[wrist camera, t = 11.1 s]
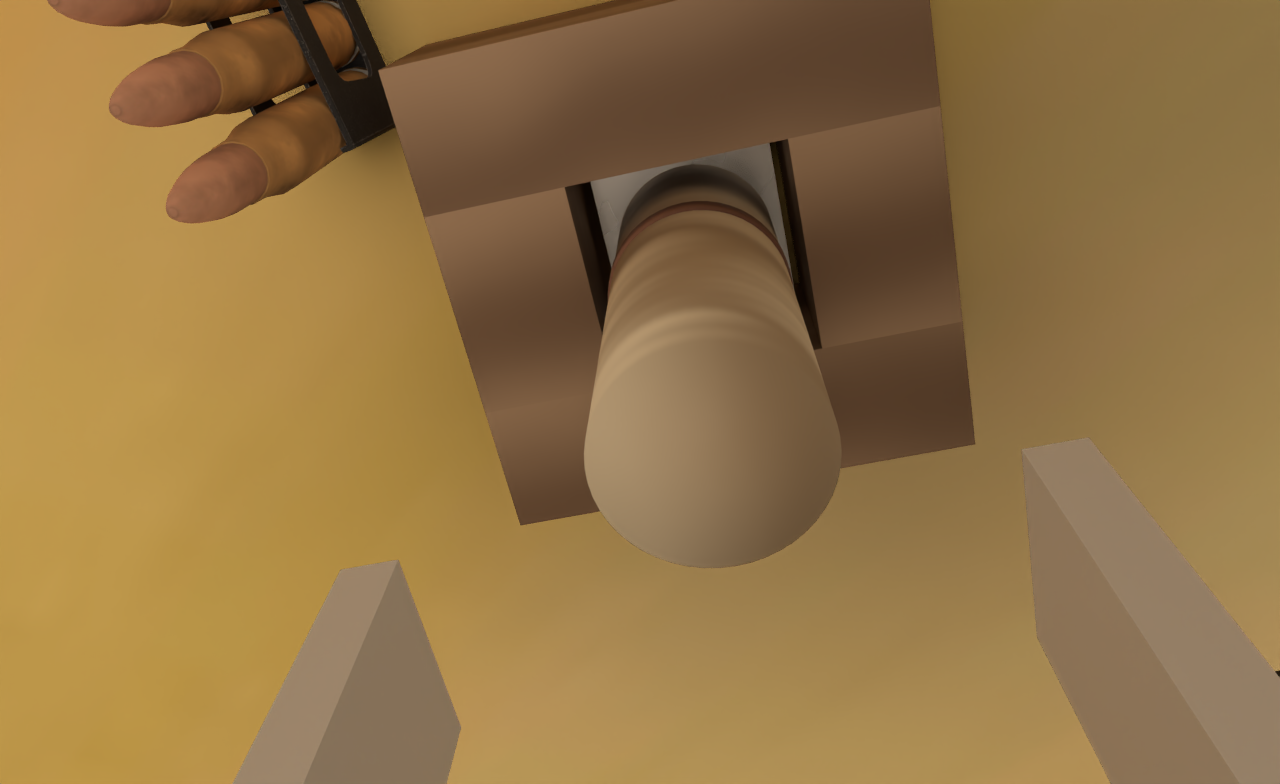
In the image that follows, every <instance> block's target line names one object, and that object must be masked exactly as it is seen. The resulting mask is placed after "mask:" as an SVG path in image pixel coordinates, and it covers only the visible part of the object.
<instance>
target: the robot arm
mask: <svg viewBox="0 0 1280 784" xmlns="http://www.w3.org/2000/svg"><path fill="white" fill-rule="evenodd" d="M1022 461H1023V473H1024V485H1025V497H1026V509H1027V521H1028V533H1029V546H1030V558H1031V570H1032V582H1033V594H1034V606H1035V618H1036V631H1037V638H1038V640H1039V642H1040V644H1041V646H1042V648H1043V650H1044V652H1045V654H1046V656H1047V658H1048V660H1049V662H1050V664H1051V666H1052V668H1053V670H1054V672H1055V674H1056V676H1057V678H1058V680H1059V682H1060V684H1061V686H1062V688H1063V690H1064V692H1065V694H1066V696H1067V698H1068V700H1069V702H1070V704H1071V706H1072V708H1073V709H1074V711H1075V713H1076V715H1077V717H1078V719H1079V721H1080V723H1081V725H1082V727H1083V729H1084V731H1085V733H1086V735H1087V737H1088V739H1089V741H1090V743H1091V745H1092V747H1093V749H1094V751H1095V753H1096V755H1097V757H1098V759H1099V761H1100V763H1101V765H1102V767H1103V769H1104V771H1105V773H1106V775H1107V777H1108V779H1109V781H1110V783H1111V784H1280V671H1274V670H1273V669H1272V667H1271V666H1270V665H1269V664H1268V662H1267V661H1266V660H1265V658H1264V657H1263V656H1262V655H1261V653H1260V652H1259V651H1258V650H1257V648H1256V647H1255V646H1254V645H1253V643H1252V642H1251V641H1250V640H1249V638H1248V637H1247V636H1246V635H1245V633H1244V632H1243V631H1242V630H1241V628H1240V627H1239V626H1238V625H1237V623H1236V622H1235V621H1234V619H1233V618H1232V617H1231V616H1230V614H1229V613H1228V612H1227V611H1226V609H1225V608H1224V607H1223V606H1222V604H1221V603H1220V602H1219V601H1218V599H1217V598H1216V597H1215V596H1214V594H1213V593H1212V592H1211V591H1210V589H1209V588H1208V587H1207V586H1206V584H1205V583H1204V582H1203V581H1202V579H1201V578H1200V577H1199V575H1198V574H1197V573H1196V572H1195V570H1194V569H1193V568H1192V567H1191V565H1190V564H1189V563H1188V562H1187V560H1186V559H1185V558H1184V557H1183V555H1182V554H1181V553H1180V552H1179V550H1178V549H1177V548H1176V547H1175V545H1174V544H1173V543H1172V542H1171V540H1170V539H1169V538H1168V536H1167V535H1166V534H1165V533H1164V531H1163V530H1162V529H1161V528H1160V526H1159V525H1158V524H1157V523H1156V521H1155V520H1154V519H1153V518H1152V516H1151V515H1150V514H1149V513H1148V511H1147V510H1146V509H1145V508H1144V506H1143V505H1142V504H1141V503H1140V501H1139V500H1138V499H1137V498H1136V496H1135V495H1134V494H1133V492H1132V491H1131V490H1130V489H1129V487H1128V486H1127V485H1126V484H1125V482H1124V481H1123V480H1122V479H1121V477H1120V476H1119V475H1118V474H1117V472H1116V471H1115V470H1114V469H1113V467H1112V466H1111V465H1110V464H1109V462H1108V461H1107V460H1106V459H1105V457H1104V456H1103V455H1102V453H1101V452H1100V451H1099V450H1098V448H1097V447H1096V446H1095V445H1094V443H1093V442H1092V441H1091V440H1090V438H1089V437H1088V438H1083V439H1077V440H1071V441H1066V442H1060V443H1054V444H1049V445H1043V446H1037V447H1032V448H1026V449H1022ZM460 730H461V726H460V723H459V720H458V718H457V715H456V712H455V710H454V707H453V704H452V702H451V699H450V696H449V694H448V691H447V688H446V686H445V683H444V680H443V678H442V675H441V672H440V670H439V667H438V664H437V662H436V659H435V656H434V654H433V651H432V648H431V646H430V643H429V640H428V638H427V635H426V632H425V630H424V627H423V624H422V622H421V619H420V616H419V614H418V611H417V608H416V606H415V603H414V600H413V598H412V595H411V592H410V590H409V587H408V584H407V582H406V579H405V576H404V574H403V571H402V568H401V566H400V563H399V560H393V561H388V562H382V563H377V564H371V565H365V566H360V567H354V568H348V569H343V570H340V572H339V574H338V576H337V578H336V580H335V582H334V584H333V586H332V588H331V590H330V592H329V594H328V596H327V598H326V600H325V602H324V604H323V606H322V608H321V610H320V612H319V614H318V616H317V618H316V620H315V622H314V624H313V626H312V628H311V629H310V631H309V633H308V635H307V637H306V639H305V641H304V643H303V645H302V647H301V649H300V651H299V653H298V655H297V657H296V659H295V661H294V663H293V665H292V667H291V669H290V671H289V673H288V675H287V677H286V679H285V681H284V683H283V685H282V687H281V689H280V691H279V693H278V695H277V697H276V699H275V701H274V703H273V705H272V707H271V709H270V711H269V713H268V715H267V717H266V719H265V721H264V723H263V725H262V726H261V728H260V730H259V732H258V734H257V736H256V738H255V740H254V742H253V744H252V746H251V748H250V750H249V752H248V754H247V756H246V758H245V760H244V762H243V764H242V766H241V768H240V770H239V772H238V774H237V776H236V778H235V780H234V782H233V784H447V780H448V776H449V772H450V768H451V764H452V760H453V757H454V753H455V749H456V745H457V741H458V737H459V733H460Z"/></svg>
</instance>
